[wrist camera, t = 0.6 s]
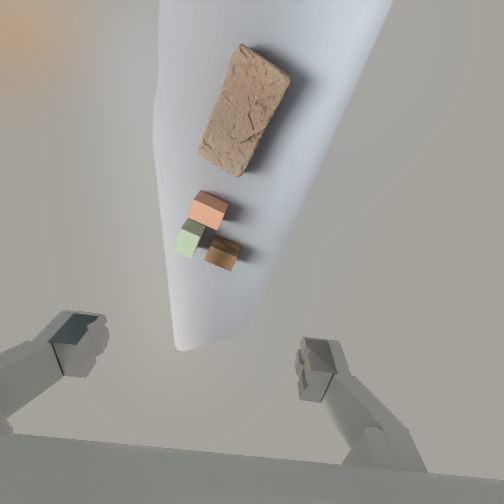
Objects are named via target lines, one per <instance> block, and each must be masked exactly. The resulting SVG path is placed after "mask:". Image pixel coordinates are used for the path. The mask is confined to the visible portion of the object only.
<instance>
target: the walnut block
mask: <svg viewBox="0 0 504 504" xmlns="http://www.w3.org/2000/svg"><path fill="white" fill-rule="evenodd" d="M240 248H241V246H240V245H238V244H235V243H233V242H231V241H229V240H226V239H224V238H222V237H219V236H217V235H215V237H214V239H213V241H212V243H211V246H210V248H209V250H208V252H207V255H206V257H205V259H204V260H205V261H208V262H210V263H212V264H215V265H217V266H219V267H222V268H224V269H227V270H229V271H231V269H232V268H233V266H234V264H235V262H236V260H237V258H238V255H239V251H240Z"/></svg>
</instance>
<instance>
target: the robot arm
mask: <svg viewBox="0 0 504 504" xmlns="http://www.w3.org/2000/svg"><path fill="white" fill-rule="evenodd" d="M106 321H107V320H106V317H105V315H103V314H96V313H89V312H81V311H73V310H63V311H61V312H60V313H59V314H58V315H57V316H56V317H55V318H54V319H53V320H52V321H51V322H50V323H49V324H48V325H47V326H46V327H45V328H44V329H43V330H42V331H41V332H40V333H39V334H38V335H37V336H36V337H35V338H34V339H33V340H32V341H26V342H24V343H21V344H19V345H17V346H15V347H13V348H11V349H9V350H6V351H4V352H2V353H0V504H504V480H497V479H487V478H476V477H465V476H456V475H455V476H454V475H445V474H435V473H428V471H427V469H426V467H425V465H424V463H423V461H422V458H421V456H420V454H419V452H418V450H417V448H416V445H415V444H414V441H413V439H412V437H411V434H410V432H409V430H408V429H407V428H406V427H405V426H404V425H403V424H402V423H401V422H400V421H399V420H398V419H397V418H396V417H395V416H394V415H393V414H392V413H391V412H390V411H389V410H388V409H387V408H386V407H385V406H384V405H383V404H382V403H381V402H380V401H379V400H378V399H377V398H376V397H375V396H374V395H373V394H372V393H371V392H370V391H369V390H368V389H367V388H366V387H365V386H364V385H363V384H362V383H361V382H360V381H359V380H358V379H357V378H356V377H355V376H352V375H351V373H350V370H349V367H348V364H347V361H346V358H345V355H344V353H343V350H342V347H341V344H340V342H339V341H335V340H325V339H317V338H308V337H303V338H302V339H301V341H300V347H301V348H300V349H299V350H298V351H297V354H296V361H295V365H296V366H295V368H296V374H297V375H298V376H299V381H298V390H299V397H300V400H305V401H312V402H320V403H321V405H322V407H323V408H324V409H325V411H326V412H327V414H328V415H329V417H330V418H331V420H332V421H333V423H334V424H335V426H336V427H337V429H338V430H339V432H340V433H341V435H342V436H343V438H344V439H345V441H346V442H347V444H348V445H349V447H350V448H351V450H350V452H349V453H348V455H347V456H346V458H345V459H344V461H343V462H342V465H338V464H328V463H318V462H307V461H296V460H286V459H274V458H265V457H255V456H254V457H253V456H243V455H233V454H223V453H213V452H201V451H192V450H181V449H170V448H160V447H150V446H139V445H128V444H118V443H107V442H97V441H86V440H75V439H64V438H54V437H43V436H33V435H23V434H12V433H13V428H12V426H11V425H10V423H9V422H8V420H7V418H8V417H9V416H10V415H12V414H13V413H15V412H16V411H17V410H19V409H20V408H21V407H23V406H24V405H26V404H27V403H28V402H30V401H31V400H33V399H34V398H35V397H37V396H38V395H39V394H41V393H42V392H44V391H45V390H46V389H48V388H49V387H50V386H52V385H53V384H54V383H56V382H57V381H59V380H60V379H61V378H63V376H74V377H87V376H88V374H89V373H90V371H91V370H92V368H93V367H94V365H95V363H96V358H95V357H96V356H98V355H99V354H101V353H103V351H104V349H105V348H106V346H107V343H108V340H109V330H108V328H107V327H106V326H104V324H105V323H106Z"/></svg>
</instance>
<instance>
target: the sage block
mask: <svg viewBox="0 0 504 504" xmlns="http://www.w3.org/2000/svg"><path fill="white" fill-rule="evenodd" d="M205 227H206V226H204V225H202V224H200V223H198V222H195V221H193V220H191V219H189V218H188V219H187V220H186V222H185V223H184V225H183V226H182V228H181V230H180V233H179V236H178V239H177V241H176V244H175V247H174V250H173V251H174V252H177V253H179V254H182V255H184V256H186V257H189V258H191V259H192V257H193V255H194V253H195V251H196V249H197V247H198V244H199V242H200V240H201V237H202V235H203V232H204V230H205Z"/></svg>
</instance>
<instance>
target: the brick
mask: <svg viewBox="0 0 504 504" xmlns="http://www.w3.org/2000/svg"><path fill="white" fill-rule="evenodd" d="M290 83H291V77H290V76H289V74H287V73H286V72H284V71H283V70H282V69H281V68H279V67H277V66H276V65H274V64H273V63H271V62H270V61H268V60H267V59H265V58H264V57H262V56H261V55H259V54H258V53H256V52H254V51H252V50H251V49H250V48H248V47H246V46H245V45H243V44H240V45H239V46H238V48H237V50H236V51H235V52H234V54H233V56H232V59H231V62H230V65H229V69H228V72H227V76H226V78H225V81H224V85H223V88H222V90H221V93H220V96H219V98H218V100H217V102H216V105H215V107H214V109H213V112H212V114H211V117H210V119H209V122H208V124H207V126H206V130H205V132H204V135H203V137H202V139H201V142H200V146H199V149H198V154H199V155H200V156H201V157H203V158H204V159H205V160H207V161H209V162H210V163H211V164H215V165H216V166H219V167H220V168H222V169H224V170H225V171H226V172H228V173H229V174H231V175H233V176H235V177H240V176H242V174H243V173H244V171H245V169H246V167H247V166H248V163H249V162H250V160H251V158H252V156H253V154H254V152H255V150H256V148H257V146H258V143H259V141H260V139H261V137H262V135H263V133H264V131H265V129H266V127H267V125H268V123H269V122H270V121H271V119H272V117H273V115H274V113H275V111H276V109H277V108H278V106H279V104H280V102H281V100H282V98H283V96H284V95H285V92H286V90H287V89H288V87H289V85H290Z"/></svg>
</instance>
